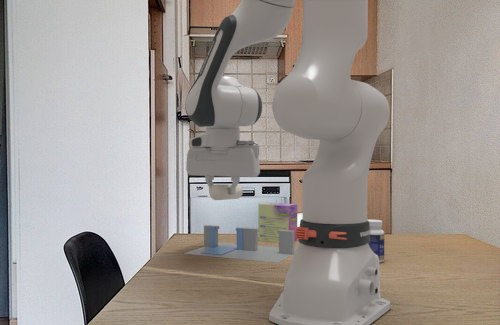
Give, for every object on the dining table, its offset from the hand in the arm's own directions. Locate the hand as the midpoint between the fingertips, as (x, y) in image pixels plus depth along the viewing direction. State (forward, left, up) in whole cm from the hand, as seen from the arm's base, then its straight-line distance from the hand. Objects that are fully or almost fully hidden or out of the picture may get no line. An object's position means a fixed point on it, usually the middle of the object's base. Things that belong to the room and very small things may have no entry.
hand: (222, 193), depth 119 cm
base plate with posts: (+3, -5, -16) cm, 17 cm away
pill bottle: (+9, -37, -16) cm, 41 cm away
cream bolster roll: (+2, 0, -2) cm, 3 cm away
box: (+22, -7, -16) cm, 29 cm away
